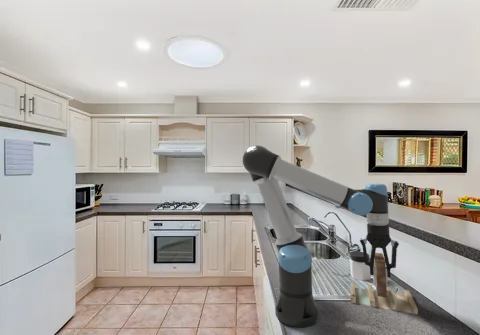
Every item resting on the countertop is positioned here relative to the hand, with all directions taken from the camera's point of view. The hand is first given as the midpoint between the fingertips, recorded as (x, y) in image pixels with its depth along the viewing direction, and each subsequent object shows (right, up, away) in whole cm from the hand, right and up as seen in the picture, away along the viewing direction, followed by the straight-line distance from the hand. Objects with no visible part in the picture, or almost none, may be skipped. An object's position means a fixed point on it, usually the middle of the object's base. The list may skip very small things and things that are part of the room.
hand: (380, 284), depth 96 cm
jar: (+2, -8, +21) cm, 22 cm away
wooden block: (0, -3, 0) cm, 3 cm away
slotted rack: (0, -7, 0) cm, 7 cm away
